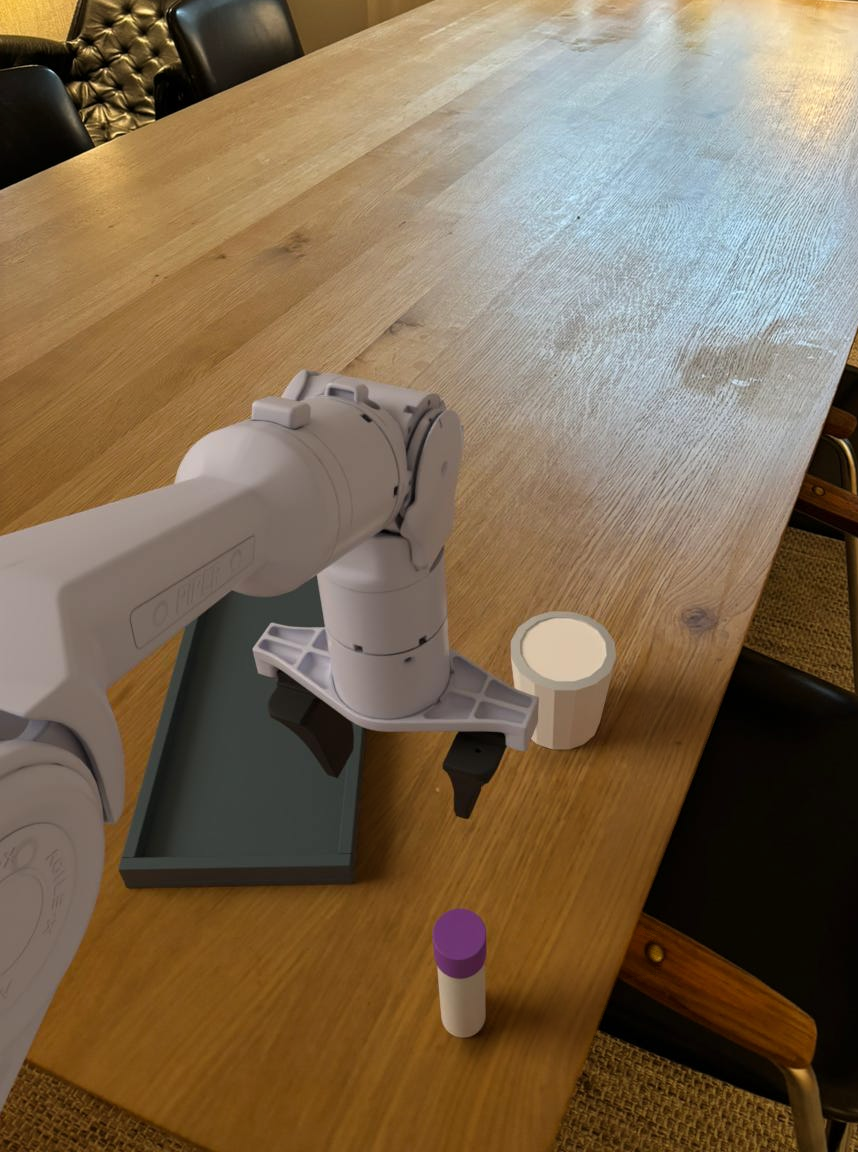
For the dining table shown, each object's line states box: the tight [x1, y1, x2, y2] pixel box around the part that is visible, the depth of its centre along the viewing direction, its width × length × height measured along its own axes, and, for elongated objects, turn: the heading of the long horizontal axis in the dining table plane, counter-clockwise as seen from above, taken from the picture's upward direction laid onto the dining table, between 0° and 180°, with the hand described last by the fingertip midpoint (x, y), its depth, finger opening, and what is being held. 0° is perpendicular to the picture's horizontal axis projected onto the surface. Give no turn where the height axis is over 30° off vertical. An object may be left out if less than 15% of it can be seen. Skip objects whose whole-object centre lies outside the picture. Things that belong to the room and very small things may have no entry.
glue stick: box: [432, 908, 487, 1039], centre depth 53 cm, size 3×3×9 cm
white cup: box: [510, 610, 617, 750], centre depth 68 cm, size 7×7×7 cm
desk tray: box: [117, 575, 368, 889], centre depth 75 cm, size 38×14×2 cm, turn 1°
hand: (403, 782), depth 56 cm, fingers open, 7 cm apart
